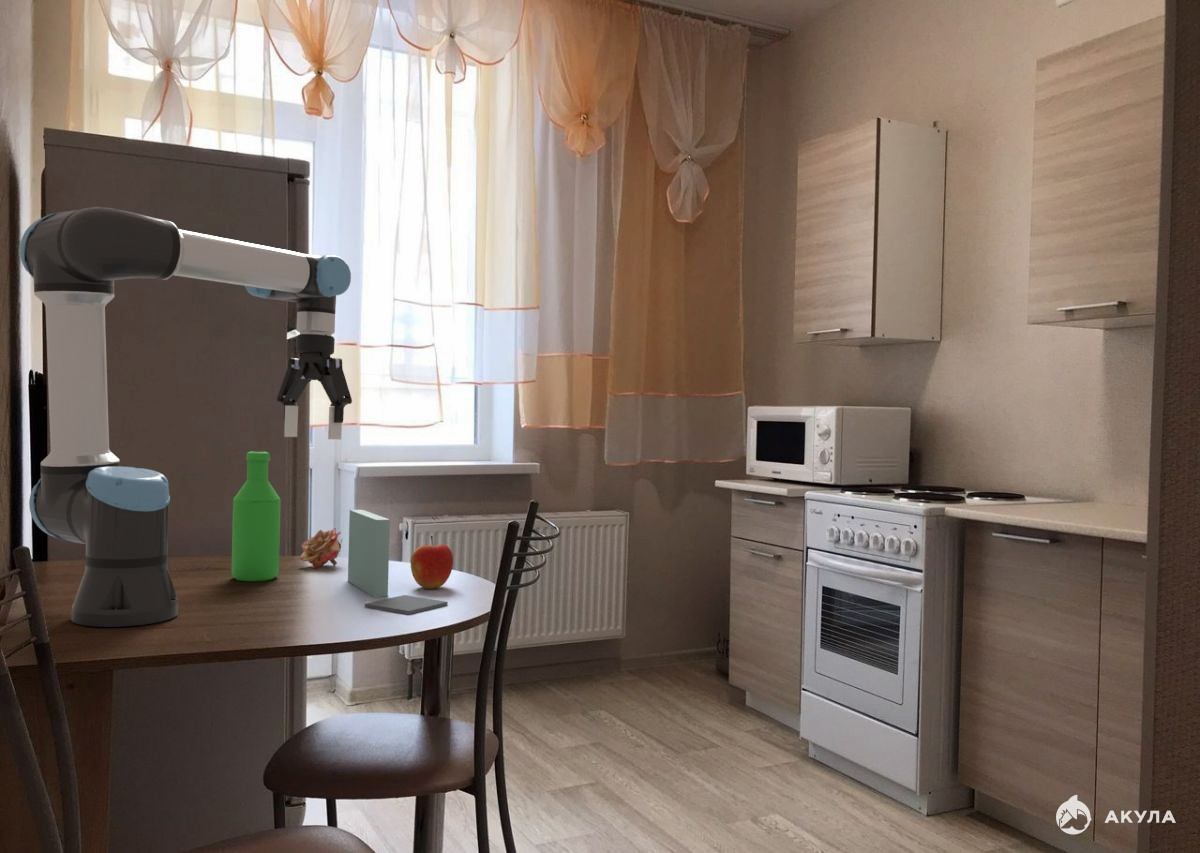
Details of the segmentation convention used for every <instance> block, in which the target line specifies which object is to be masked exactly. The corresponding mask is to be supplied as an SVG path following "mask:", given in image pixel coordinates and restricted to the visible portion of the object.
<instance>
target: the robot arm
mask: <svg viewBox="0 0 1200 853" xmlns="http://www.w3.org/2000/svg"><path fill="white" fill-rule="evenodd" d="M19 244H20V245H19V255H20V261H21V264H22V266H23V268H24V270H25V271H26V272H27V273H28V274H29V275H30V276H31V278H32V279H33V294H34V296H35V297H36V298H38V299H39V300H40V301H41V302H42V303H43V304H44V307H45V326H46V329H45V330H46V354H47V357H46V358H47V378H48V379H47V386H48V409H49V410H48V411H49V413H48V414H49V434H50V435H49V437H50V439H49V440H50V452H49V454H48V455H47V456H46V457H45V458H43V460H41V462H40V479H39V480H38V482H37V483H36V484H35V485H34V486H33V488H32V489H31V492H30V495H29V501H28V504H29V511H30V516H31V518H32V520H33V521H34V523H35V525H36V527H38V528H39V529H40V530H41V531H42V532H43V533H45V534H47V535H48V536H51V537H54V538H55V539H57V540H59V541H61V542H67V543H71V544H73V543H77V544H84V545H85V568H84V573H83V576H82V578H81V581H80V584H79V586H78V590H77V591H76V595H75V598H74V601H73V603H72V606H71V622H72V623H74V624H77V625H79V626H84V627H85V626H87V627H98V628H99V627H101V628H102V627H105V628H111V627H112V628H114V627H115V628H116V627H118V628H119V627H120V628H121V627H132V626H135V627H136V626H143V625H150V624H156V623H161V622H165V621H168V620H172V619H173V618H175V617H177V616H178V614H179V598H178V596H177V594H176V590H175V587H174V584H173V582H172V578H171V574H170V573H169V569H168V546H169V545H168V542H169V537H168V536H169V514H170V513H169V508H170V502H171V495H170V489H169V486H170V485H169V481H168V478H167V477H166V476H165V475H164V474H162V473H161V472H159V471H156V470H153V469H148V468H138V467H133V466H121V460H120V458H118V456H116V455H115V454H114V453H113V452H112V451H111V450H110V433H109V432H110V428H109V405H108V404H109V402H108V401H109V400H108V399H109V398H108V371H107V370H108V369H107V365H108V364H107V339H106V338H107V337H106V336H107V335H106V308H105V307H106V306H107V305H108V303H110V302H111V301H112V300H113V299H114V298H115V281H120V280H127V279H128V280H129V279H155V280H161V281H163V280H164V281H165V280H169V279H170V278H171V277H173V276H176V277H182V278H191V279H196V280H202V281H203V280H204V281H210V282H216V283H224V284H225V283H226V284H231V285H239V286H244V287H245V290H246V291H247V293H248V294H250V295H251V296H252V297H257V298H261V299H264V300H266V299H269V300H277V301H282V302H283V301H285V302H290V303H291V302H292V303H296V307H297V314H296V315H297V316H296V332H297V333H299V334H297V336H296V342H295V344H296V345H295V352H297V353H298V354H299V358H294V357H289V358H288V362H287V369H286V372H285V375H284V378H283V380H282V383H281V386H280V389H279V391H278V394H277V397H276V401H277V402H278V403H282V405H283V419H284V429H283V430H284V432H283V433H284V435H283V436H284V437H285V438H298V426H299V425H298V422H299V421H298V420H299V404H298V403H297V402H298V400H299V399H300V397H301V395H302V393H304V390H305V389H306V387H307V385H308V384H309V382H311V381H318V382H319V383H320V385H321V386H322V388H323V389H324V392H325V393H326V395H327V397H328V399H329V401H330V402H331V403H330V405H329V407H328V432H327V436H328V437H327V439H328V440H342V431H343V430H342V428H343V423H344V415H345V414H344V412H345V411H344V409H345V407H346V406H347V405H350V404H352V403H353V399H352V395H351V392H350V389H349V386H348V383H347V380H346V379H347V378H346V375H345V373H344V369H343V359H342V358H341V357H331V355H334V353H335V341H336V340H335V338H334V336H332V335H334V334H335V330H336V329H335V328H336V308H337V307H336V306H337V296H340V295H343V294H344V293H346V291H347V290H348V289H349V287H350V285H351V282H352V280H351V279H352V276H351V275H352V273H351V269H350V267H349V264H348V263H347V262H346V260H345V259H343V258H342V257H340V256H337V255H329V254H325V255H321V256H320V255H313V254H307V253H301V252H296V251H292V250H288V249H282V248H276V247H272V246H267V245H261V244H256V243H252V242H251V243H250V242H245V241H240V240H236V239H231V238H225V237H219V236H215V235H210V234H206V233H205V234H204V233H199V232H194V231H189V230H184V229H180V228H178V227H177V224H175V223H174V222H172V221H170V220H166V219H160V218H156V217H152V216H148V215H145V214H140V213H135V212H132V211H126V210H121V209H118V208H117V209H116V208H112V207H104V206H103V207H102V206H92V207H86V208H82V209H75V210H69V211H62V212H61V211H57V212H55V213H51V214H50V213H49V214H48V215H46V216H43V217H41V218H38V219H37V220H35V221H34V222H32V223H31V225H29V226H28V227H27V229H26V230H25V231H24V233H23V235H22V237H21V240H20V243H19Z"/></svg>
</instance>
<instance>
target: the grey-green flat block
mask: <svg viewBox="0 0 1200 853" xmlns="http://www.w3.org/2000/svg"><path fill="white" fill-rule="evenodd" d="M348 517H349V522H348V523H349V524H348V526H349V528H348V556H347V557H348V562H347V568H348V569H347V582H349V583H351V584H352V585H354V586H355V587H358V589H360V590H362V591H363V592H366V593H367V594H368V595H369V596H372V597H374V598H382V597H383V596H384V597H389V568H390V567H389V564H390V562H389V561H390V528H391V525H390V522H391V520H390V519H389V518H386V517H384V516H381V515H379V514H376V513H373V512H370V511H368V510H364V509H349V516H348Z"/></svg>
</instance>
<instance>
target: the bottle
mask: <svg viewBox="0 0 1200 853" xmlns="http://www.w3.org/2000/svg"><path fill="white" fill-rule="evenodd" d="M245 460H246V461H247V464H246V466H247V469H246V470H247V471H246V481H245V482H244V484H243V485H242V487H241V488H240V489H239V491H238V492H237V494H236V495H235V496H234V497H233V500H232V535H231V536H232V537H231V538H232V540H231V544H232V545H231V576H232V577H233V578H234V579H235V580H236V581H241V582H266V581H271V580H273V579H275V577H277V576H278V575H279V574H280V573H279V569H280V543H281V541H280V540H281V538H280V537H281V536H280V535H281V501H282V500H281V498H280V496H279V495H278V494H277V492H276V490H275V489H274V486H272V484H271V483H270V481H269V461H271V460H272V459H271V457H270V452H267V451H262V450H261V451H257V450H256V451H255V450H254V451H249V452H247V453H246V458H245Z"/></svg>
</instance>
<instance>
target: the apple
mask: <svg viewBox="0 0 1200 853" xmlns="http://www.w3.org/2000/svg"><path fill="white" fill-rule="evenodd" d="M430 539H431V545H428V544H427V545H421V546H418V548H416V549H415V550H414V551H413V552H412V554H411V557H410V570H411V574H412V577H413V579H414V580H415V582H416V584H418V586H420V587H421V588H424V589H427V590H434V589H438V588H440V587H442V586H443V585H445V584H446V583H447V581H448V579H450V577H451V574H452V571H453V567H454V566H453V565H454V556H453V552H452V550H451V549H450V546H448V545H446V544H444V543H443V544H437V545H436V546H433V545H434V544H433V535H430Z"/></svg>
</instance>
